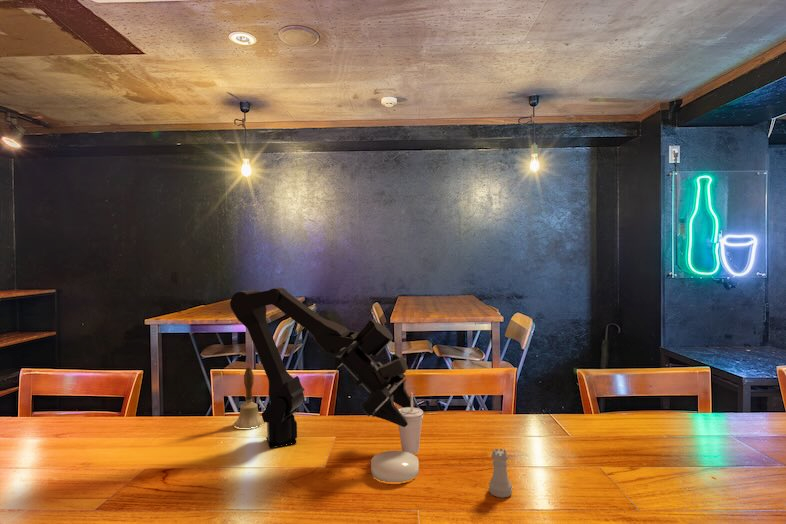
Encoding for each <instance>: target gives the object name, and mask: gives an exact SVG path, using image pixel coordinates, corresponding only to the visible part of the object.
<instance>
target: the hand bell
mask: <svg viewBox="0 0 786 524" xmlns="http://www.w3.org/2000/svg"><path fill="white" fill-rule="evenodd" d="M253 372H254V371H253V369H252V367H251V366H246V367H245V371H244V374H243V383H244V387H245V402H243V404H241V405H240V410H239V415H238V416H237V417H238V418H237V419H236V421H235V422H233V425H234V426H236V427H239V428H251V427H256V426H260V425H262V424H264V425H265V423H266V422H264V421H263V418H262V416H261V414H260V413H259V408H258V404H257V403H255V402H253V386H254V380H255V379H254V378H255V376H254V373H253Z"/></svg>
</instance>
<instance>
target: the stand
mask: <svg viewBox="0 0 786 524" xmlns="http://www.w3.org/2000/svg"><path fill="white" fill-rule="evenodd" d="M419 464H420V462H419V458H418V456H415V455H413V454H411V453H409V452H405V451H402V450H387V451H382V452H380V453H378V454H376V455H374V456H372V459H371V460H370V472H371V473H370V475H371V474H372V475H371V477H372V476H373V477H375V478H376V479H378V480H380V481H385V482H403V481H407V480H411V479H412V478H414V477H416V476H417V475H418V472H419V471H420V469H419ZM419 473H420V472H419ZM418 476H419V475H418ZM373 477H372V478H373Z"/></svg>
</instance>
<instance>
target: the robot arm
mask: <svg viewBox="0 0 786 524" xmlns="http://www.w3.org/2000/svg"><path fill="white" fill-rule="evenodd" d="M270 305H272V306H274V307H276V309H278V310H280V311H281V312H283V313H284V314H285V315H287V317H289V318H291V319H292V320H293V321H294V322H295V323H297V324H299V325H300V326H301V327H302V328H303V329H305V330H306V331H308V332H309V333H310V334H311V336H312V337H313V339H314V341H315V342H316V344H317V345H319V347H320V348H321V349H322V350H323V351H324V352H325V353H328V354H330V355H333V354H337V353H339V352H341V351H342V350H344V349H345V351H343V352H342V354H340V355H336V356H334V357H333V359H334V363H333V369H335V370H337V369H338V368H341V367H342V366H344V367H345V368H346V370H347V371H349V373H350V374H351V375H352V376H353V377H354V378H355V379H356V380H357V381H356V382H355V384H356V385H357V386H358V387H359V386H362V387H363V388H364V389H365V390H366V391H367V392H368V393H369V395H367V397H368V398H367V399H365V401H364V402H363V403H362V404H361V405H362V411H363V413H365V414H366V415H367V416H368V417H370V416H371V417H373V418H378V419H381V420H385V421H387V422H390V423H392V424H395V425H398V426H399V425H400V426H402V427H406V426H407V425H408V423H407V421H406V420H405V418H404V417H403V416H402V414H401V413H400V412H399V410H398V409H399V408H397V406H396V405H395V404H397V405H398V406H400V407H401V408H406V407H411V396H409V394H408V392H407V390H406V381H407V379H406V378H405V377H406V375H405V373H406V372H407V370H409V366H408V365H407V359H406V358H405V357H404V356H403V355H400V354H399V353H394V354H393V355H391V357H390V361H388V362H387V363H385V364H382V363H381V361H377V362H375V361H374V360H373V358H371V357H370V356H378V355H379V354H380V353H381V352H382V350H384V349H385V347H386V346H388V345H389V344H390V342H391V341H393V339H394V337H393V334H392V333H391V331H390V330H389V329H388V328H387V327H386V326H384V325H382V324H381V323H380V322H378V321H376V320H375V319H374V318H373V319H370V320H368V322H367V323H366V325H365V326H364V328H362V330H361V331H360V332H357V331H354V330H353V331H351V330H349V329H348V328H346V327H345V326H343V325H341V324H339V323H337V322H336V321H332V320H329V319H326V318H324V317H322V316H321V315H319V314H318V313H317V312H315V311H314V310H312V309H311V308H310V307H309V306H307V305H306V304H304V303H303V302H302V301H301V300H299V299H297V298H296V297H295V296H294V295H292V294H291V293H289V292H288V291H287V289H285V288H284V287H275V288H271V289H270V288H269V289H268V290H264V291H263V290H262V291H258V290H256V289H250V290H249V289H248V290H243V291H238V292H235V293H234V294H233V295H232V297H231V300H230V301H229V306H230V309H231V311H232V313H233V314H234V316H235V318H236V319H237V320H238V322H240V323H241V324H242V325H243V326H244V327H245V328H246V329H247V331H248V334H249V336H250V338H251V341H252V343H253V346H254V349H255V350H256V353H257V355H258V356H257V357H258V358H259V360H260V363H261V365H262V367H263V371H264V373H265V376H266V377H267V381H268V391H267V392H268V400H269V405H268V406H267V407H266V408H265V410H264V411H262V413H261V414H260V416H261V418H262V419H263V421H264V422H265V423H266V429H267V430H266V431H267V432H266V433H267V434H266V435H267V436H266V437H265V438H266V439H267V440H266V441H267V442H268V443H267V445H268V444H269V445H268V448H269V447H275V446H280V447H282V446H281V445H286V444H291V443H296V442H297V438H298V421H297V420H296V418H295V415H294V414H295V413H296V412H297V411H298V409H299V407H300V406H301V405H302V403H303V401H304V398H305V394H304V392H305V388H304V387H303V386H302V384H301V381H300V377H299V376H298V375H297V376H295V377H293V376H291V374H289V373H288V371H287V368H286V366H285V363H284V362H283V359H282V357H281V353H280V352H279V349H278V347H277V344H276V342H275V339H274V337H273V335H272V333H271V330H270V328H269V325H268V323H267V306H270ZM354 344H355V346H353V348H351V346H352V345H354ZM413 407H414V408H416V407H415V405H414V404H413ZM371 414H372V415H371ZM297 443H298V442H297ZM297 443H296V444H297ZM291 445H292V444H291ZM286 446H287V445H286ZM275 448H276V447H275Z"/></svg>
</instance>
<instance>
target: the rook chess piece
mask: <svg viewBox="0 0 786 524" xmlns="http://www.w3.org/2000/svg"><path fill="white" fill-rule="evenodd" d="M491 458H492V460H493V462H492V466H493V471H492V472H493V473H492V477H491V478H490V480H489V483H488V485H489V487H488V491H489V493H490V494H491V495H492V496H493V495H494V497H495V496H496V497H495V498H499V497H500V499H506V498H509V497H510V496H511V495H512V494H513V489H512V488H513V484H512V482H511V480H510V479H509V477H508V472H507V471H508V470H507V467H508V466H509V465H508V462H507V461H508V459H509V455H508V453H507V450H506V449H503V448H497V447H496V448H494V449H493V450H492V453H491ZM505 497H506V498H505Z"/></svg>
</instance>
